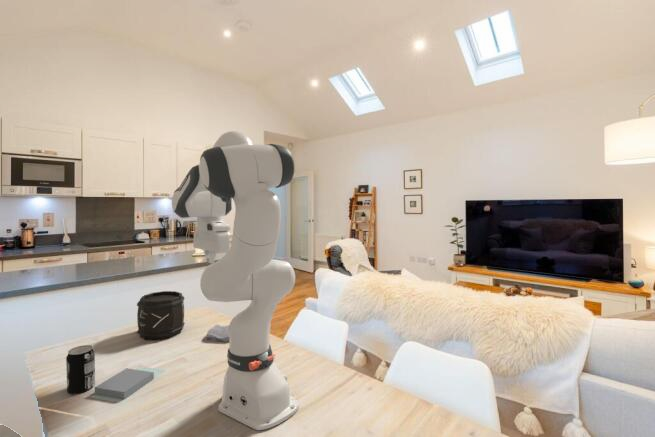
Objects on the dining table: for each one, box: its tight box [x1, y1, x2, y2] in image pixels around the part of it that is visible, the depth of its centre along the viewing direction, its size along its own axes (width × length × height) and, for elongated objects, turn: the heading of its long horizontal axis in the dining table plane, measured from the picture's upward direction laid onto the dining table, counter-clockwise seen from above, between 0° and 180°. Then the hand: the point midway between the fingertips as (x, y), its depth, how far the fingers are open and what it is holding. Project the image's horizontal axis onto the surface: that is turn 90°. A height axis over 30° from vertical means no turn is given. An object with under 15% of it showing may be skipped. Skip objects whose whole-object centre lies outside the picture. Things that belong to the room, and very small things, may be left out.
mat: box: [90, 366, 167, 403], centre depth 99 cm, size 10×18×1 cm, turn 167°
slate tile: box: [94, 367, 154, 400], centre depth 97 cm, size 2×10×11 cm
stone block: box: [206, 324, 230, 343], centre depth 135 cm, size 12×5×10 cm
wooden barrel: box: [136, 290, 186, 341], centre depth 137 cm, size 18×18×16 cm
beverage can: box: [65, 344, 96, 395], centre depth 96 cm, size 7×7×12 cm
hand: (210, 262), depth 119 cm, fingers closed
